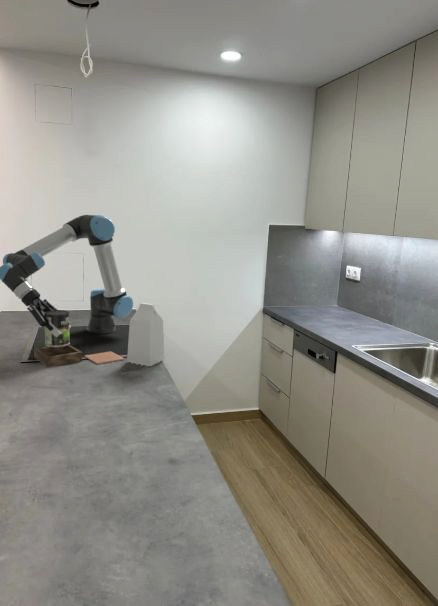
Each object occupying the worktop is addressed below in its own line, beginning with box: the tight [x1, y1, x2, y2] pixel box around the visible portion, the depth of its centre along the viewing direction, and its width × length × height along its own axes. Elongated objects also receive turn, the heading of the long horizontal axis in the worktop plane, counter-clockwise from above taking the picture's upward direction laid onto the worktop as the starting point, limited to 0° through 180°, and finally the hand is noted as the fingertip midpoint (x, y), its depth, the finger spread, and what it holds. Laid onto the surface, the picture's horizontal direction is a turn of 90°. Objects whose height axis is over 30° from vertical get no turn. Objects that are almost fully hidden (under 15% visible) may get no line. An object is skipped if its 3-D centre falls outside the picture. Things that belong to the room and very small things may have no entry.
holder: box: [33, 344, 83, 368], centre depth 201 cm, size 15×15×4 cm
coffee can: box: [44, 309, 71, 347], centre depth 199 cm, size 10×10×14 cm
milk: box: [126, 302, 165, 367], centre depth 203 cm, size 12×12×26 cm
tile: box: [84, 351, 125, 365], centre depth 206 cm, size 13×13×1 cm
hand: (63, 332), depth 199 cm, fingers closed on coffee can, 10 cm apart
